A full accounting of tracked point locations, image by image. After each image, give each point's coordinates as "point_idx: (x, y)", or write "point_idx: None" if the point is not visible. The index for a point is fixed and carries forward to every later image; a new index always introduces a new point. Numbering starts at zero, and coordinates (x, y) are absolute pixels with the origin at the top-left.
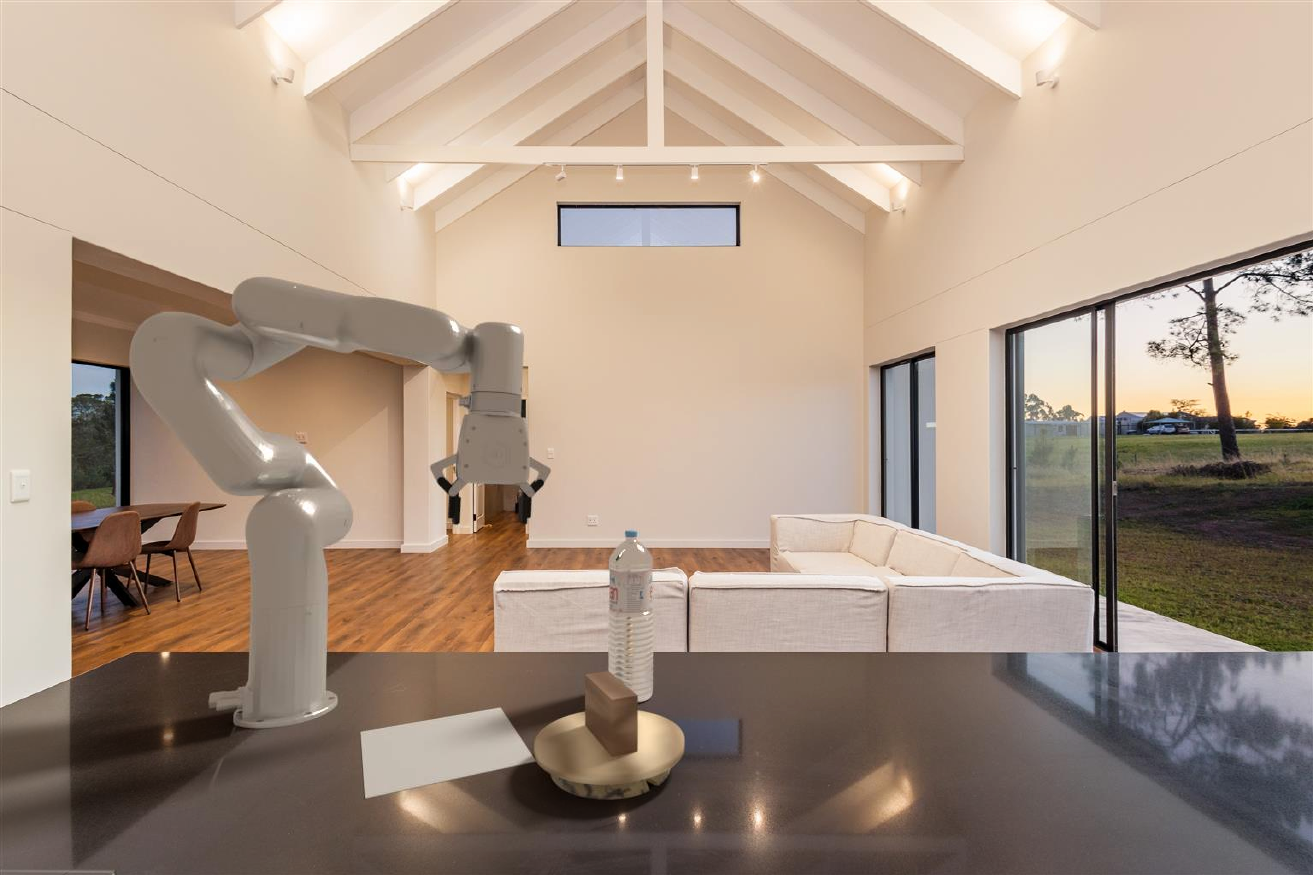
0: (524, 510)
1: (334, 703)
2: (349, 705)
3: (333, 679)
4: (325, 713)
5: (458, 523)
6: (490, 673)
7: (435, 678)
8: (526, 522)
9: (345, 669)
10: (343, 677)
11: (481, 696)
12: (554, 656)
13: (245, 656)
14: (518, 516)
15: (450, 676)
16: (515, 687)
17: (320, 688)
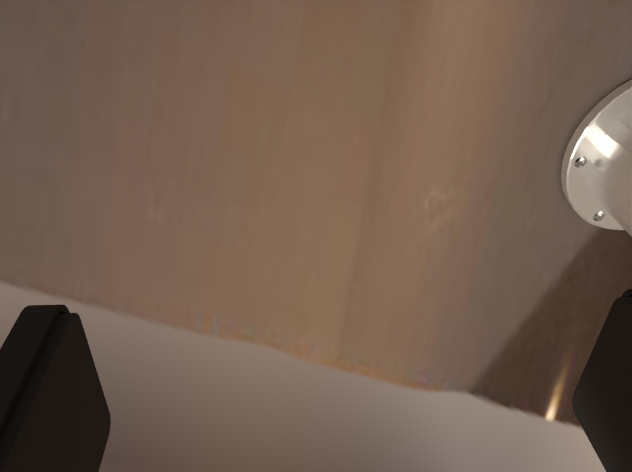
0: (11, 400)
1: (581, 134)
2: (541, 148)
3: (531, 290)
4: (601, 102)
5: (625, 298)
6: (245, 225)
7: (360, 235)
8: (32, 308)
9: (501, 331)
10: (514, 294)
11: (285, 91)
12: (86, 282)
13: None
14: (99, 455)
15: (330, 236)
16: (200, 118)
17: (629, 144)
